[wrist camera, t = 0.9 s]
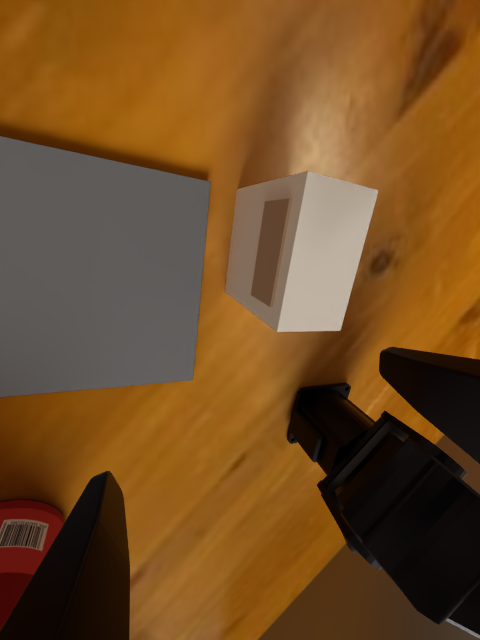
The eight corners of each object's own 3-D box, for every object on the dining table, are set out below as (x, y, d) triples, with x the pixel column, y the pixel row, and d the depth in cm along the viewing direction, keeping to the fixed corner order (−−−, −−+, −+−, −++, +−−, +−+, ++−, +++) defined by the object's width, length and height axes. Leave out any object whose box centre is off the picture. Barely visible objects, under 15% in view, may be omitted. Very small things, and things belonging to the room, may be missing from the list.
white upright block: (287, 200, 19) (378, 190, 12) (271, 293, 21) (340, 330, 14) (234, 188, 18) (305, 170, 11) (222, 291, 20) (274, 331, 13)
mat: (207, 182, 17) (210, 181, 16) (191, 376, 21) (192, 380, 21) (-183, 99, 10) (-199, 92, 10) (-93, 399, 15) (-102, 406, 14)
